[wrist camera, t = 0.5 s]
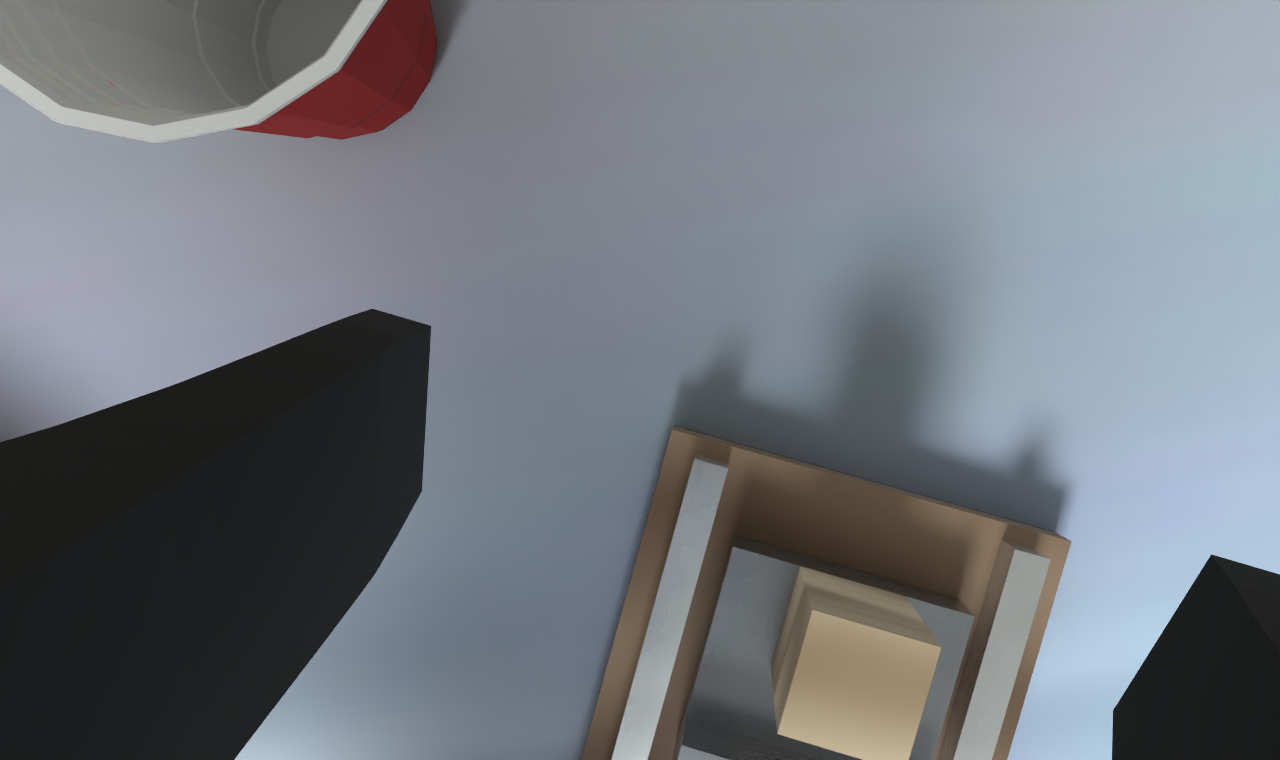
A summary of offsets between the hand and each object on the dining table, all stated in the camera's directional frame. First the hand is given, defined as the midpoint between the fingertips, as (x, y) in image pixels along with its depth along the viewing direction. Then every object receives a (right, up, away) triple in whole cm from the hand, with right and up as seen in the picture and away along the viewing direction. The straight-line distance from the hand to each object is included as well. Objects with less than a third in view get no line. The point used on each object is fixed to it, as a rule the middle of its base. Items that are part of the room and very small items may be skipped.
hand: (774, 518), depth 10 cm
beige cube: (+4, -7, +21) cm, 23 cm away
